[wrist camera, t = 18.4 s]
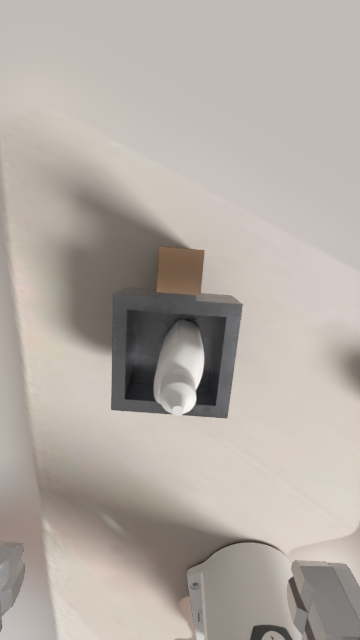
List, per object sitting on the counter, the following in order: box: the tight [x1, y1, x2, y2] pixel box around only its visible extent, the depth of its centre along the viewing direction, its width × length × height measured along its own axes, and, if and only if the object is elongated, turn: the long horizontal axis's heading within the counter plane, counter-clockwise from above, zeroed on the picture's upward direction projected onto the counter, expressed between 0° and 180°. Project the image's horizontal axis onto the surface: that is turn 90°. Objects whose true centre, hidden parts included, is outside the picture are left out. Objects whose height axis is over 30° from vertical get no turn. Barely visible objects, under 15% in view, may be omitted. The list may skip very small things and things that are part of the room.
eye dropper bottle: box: [154, 319, 204, 416], centre depth 22 cm, size 4×6×12 cm
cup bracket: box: [111, 247, 243, 418], centre depth 25 cm, size 15×11×13 cm
